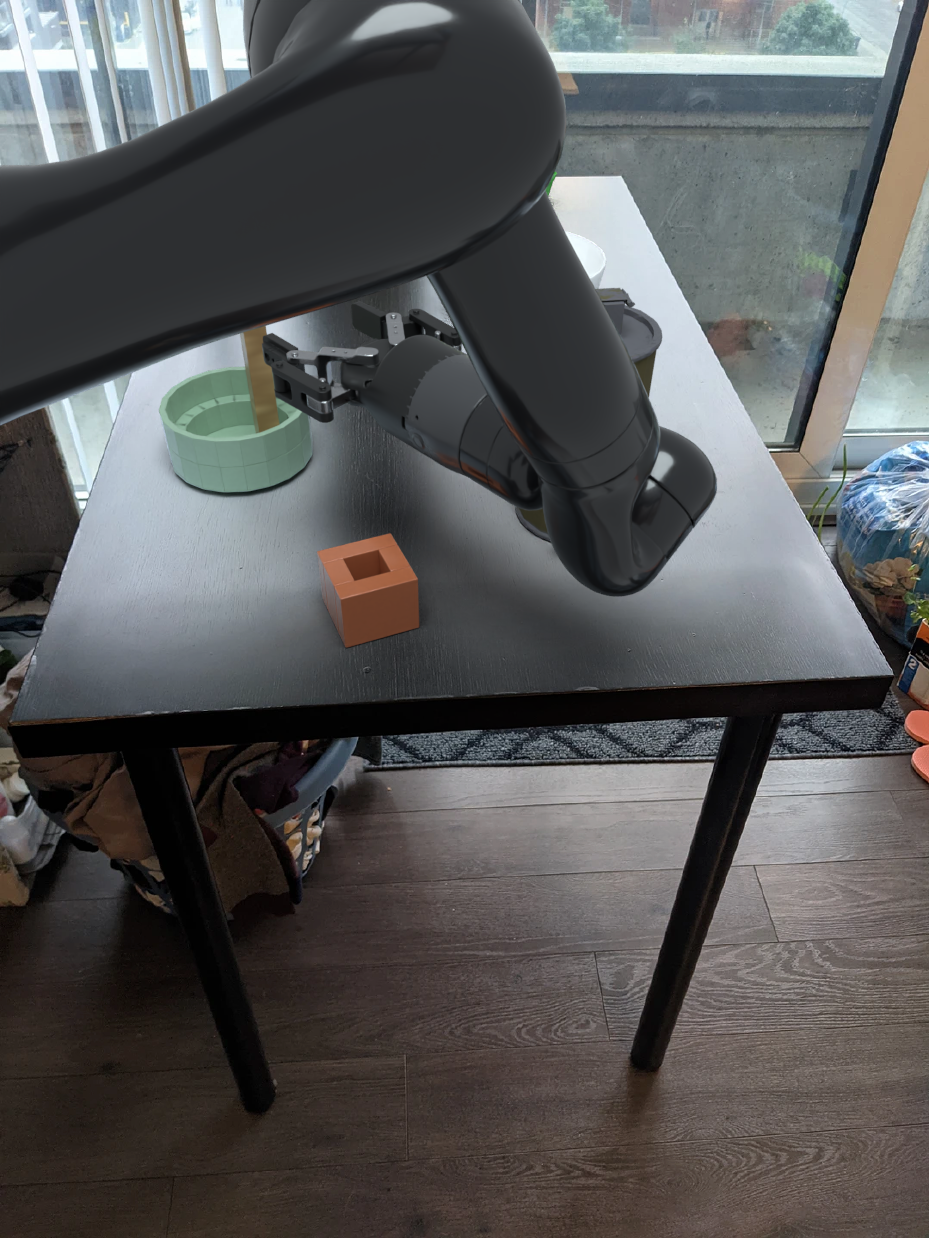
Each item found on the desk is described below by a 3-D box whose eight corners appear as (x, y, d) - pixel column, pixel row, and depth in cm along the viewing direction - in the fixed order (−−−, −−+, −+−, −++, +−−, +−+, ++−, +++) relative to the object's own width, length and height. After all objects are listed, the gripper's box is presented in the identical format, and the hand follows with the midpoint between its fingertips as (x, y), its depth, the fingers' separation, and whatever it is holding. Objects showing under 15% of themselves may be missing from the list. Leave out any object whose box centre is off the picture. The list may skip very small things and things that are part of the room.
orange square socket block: (345, 648, 72) (340, 599, 68) (322, 599, 76) (316, 550, 72) (419, 627, 73) (418, 578, 70) (393, 581, 77) (390, 532, 74)
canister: (614, 473, 89) (644, 263, 76) (647, 541, 82) (687, 322, 68) (500, 482, 88) (510, 270, 74) (523, 552, 80) (539, 331, 67)
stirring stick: (262, 453, 90) (229, 242, 76) (257, 443, 91) (223, 233, 78) (283, 449, 91) (253, 238, 77) (277, 438, 92) (247, 230, 78)
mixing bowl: (187, 511, 84) (174, 453, 80) (161, 436, 93) (148, 381, 89) (330, 479, 88) (324, 422, 84) (292, 410, 97) (285, 356, 93)
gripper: (524, 327, 68) (379, 258, 76) (368, 394, 60) (227, 310, 69) (518, 419, 73) (383, 345, 81) (374, 491, 65) (242, 402, 74)
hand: (312, 329), depth 75 cm, fingers open, 8 cm apart
